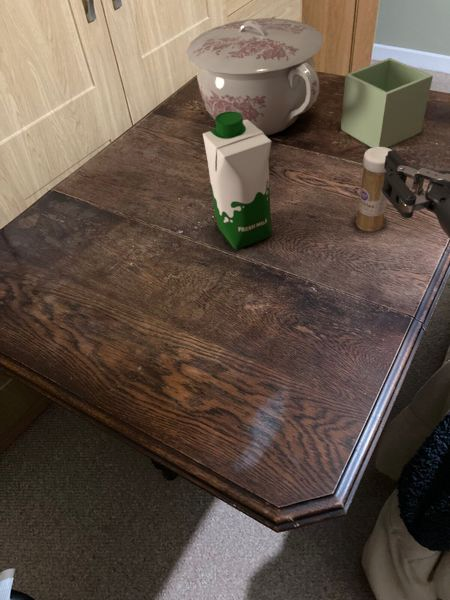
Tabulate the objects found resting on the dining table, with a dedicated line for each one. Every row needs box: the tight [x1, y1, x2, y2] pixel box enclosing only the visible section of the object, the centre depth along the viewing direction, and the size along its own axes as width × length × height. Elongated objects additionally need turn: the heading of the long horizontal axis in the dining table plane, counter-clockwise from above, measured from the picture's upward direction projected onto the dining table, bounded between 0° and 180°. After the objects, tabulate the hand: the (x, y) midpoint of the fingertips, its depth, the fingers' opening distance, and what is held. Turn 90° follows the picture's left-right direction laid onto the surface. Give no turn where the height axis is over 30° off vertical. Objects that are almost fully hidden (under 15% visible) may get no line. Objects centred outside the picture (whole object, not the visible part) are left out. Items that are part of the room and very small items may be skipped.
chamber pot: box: [185, 17, 324, 137], centre depth 103 cm, size 28×28×21 cm
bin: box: [340, 57, 434, 148], centre depth 98 cm, size 11×11×12 cm
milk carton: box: [202, 111, 273, 251], centre depth 77 cm, size 9×9×20 cm
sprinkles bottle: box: [355, 147, 393, 233], centre depth 78 cm, size 5×5×13 cm
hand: (422, 150), depth 61 cm, fingers open, 8 cm apart
